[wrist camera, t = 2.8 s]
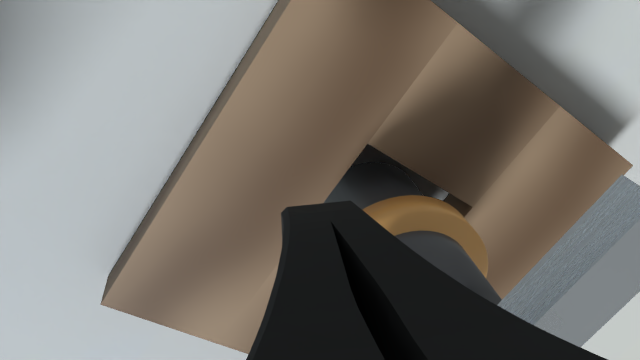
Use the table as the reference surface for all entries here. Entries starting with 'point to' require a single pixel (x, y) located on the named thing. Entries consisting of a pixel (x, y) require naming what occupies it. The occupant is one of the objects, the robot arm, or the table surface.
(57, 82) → the table surface
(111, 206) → the table surface
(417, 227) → the plug
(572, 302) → the grey rectangular bar
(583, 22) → the table surface
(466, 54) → the socket block
